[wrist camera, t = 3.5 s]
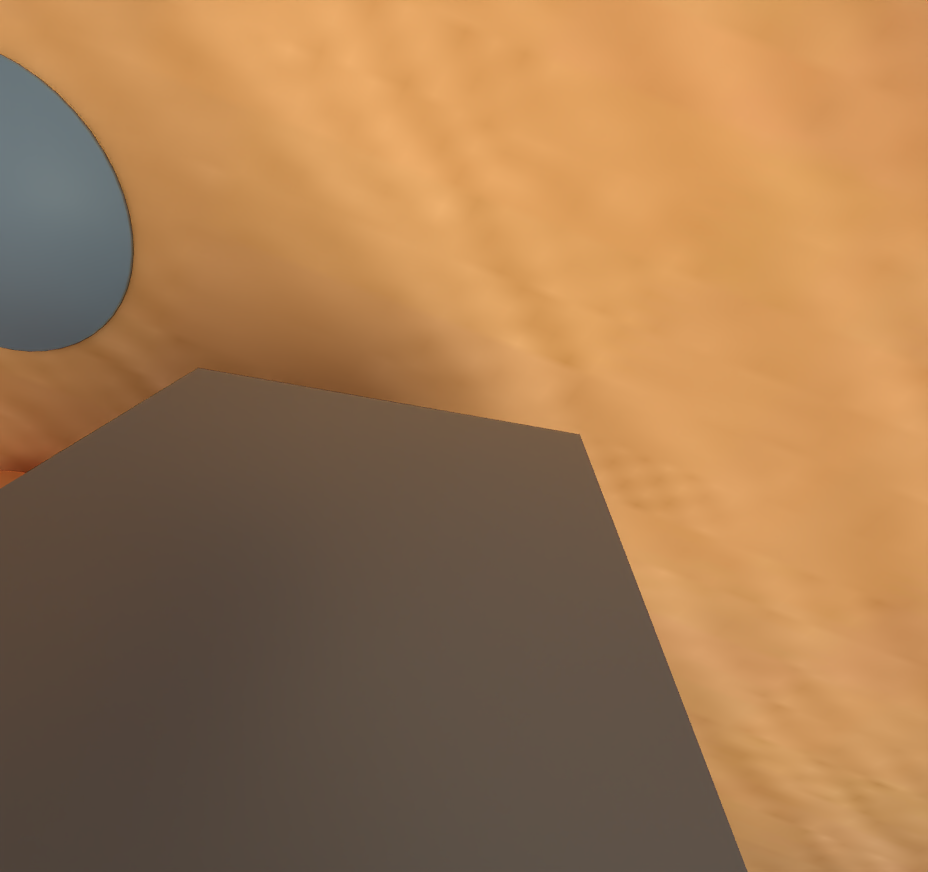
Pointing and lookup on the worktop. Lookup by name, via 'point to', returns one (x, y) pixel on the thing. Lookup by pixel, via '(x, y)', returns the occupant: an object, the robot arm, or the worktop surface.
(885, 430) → the worktop surface
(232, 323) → the worktop surface
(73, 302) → the mark
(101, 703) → the matte grey cube
